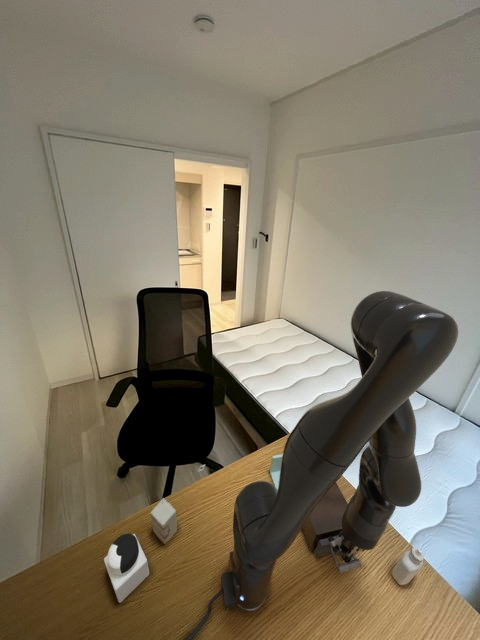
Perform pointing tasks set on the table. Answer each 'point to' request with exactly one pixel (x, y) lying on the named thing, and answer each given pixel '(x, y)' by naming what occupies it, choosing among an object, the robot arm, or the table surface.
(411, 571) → the eye dropper bottle
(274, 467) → the teal open bin
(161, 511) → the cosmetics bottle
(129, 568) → the white block with dome
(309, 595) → the table surface
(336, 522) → the cabinet
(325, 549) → the drawer
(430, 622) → the table surface
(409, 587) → the table surface
